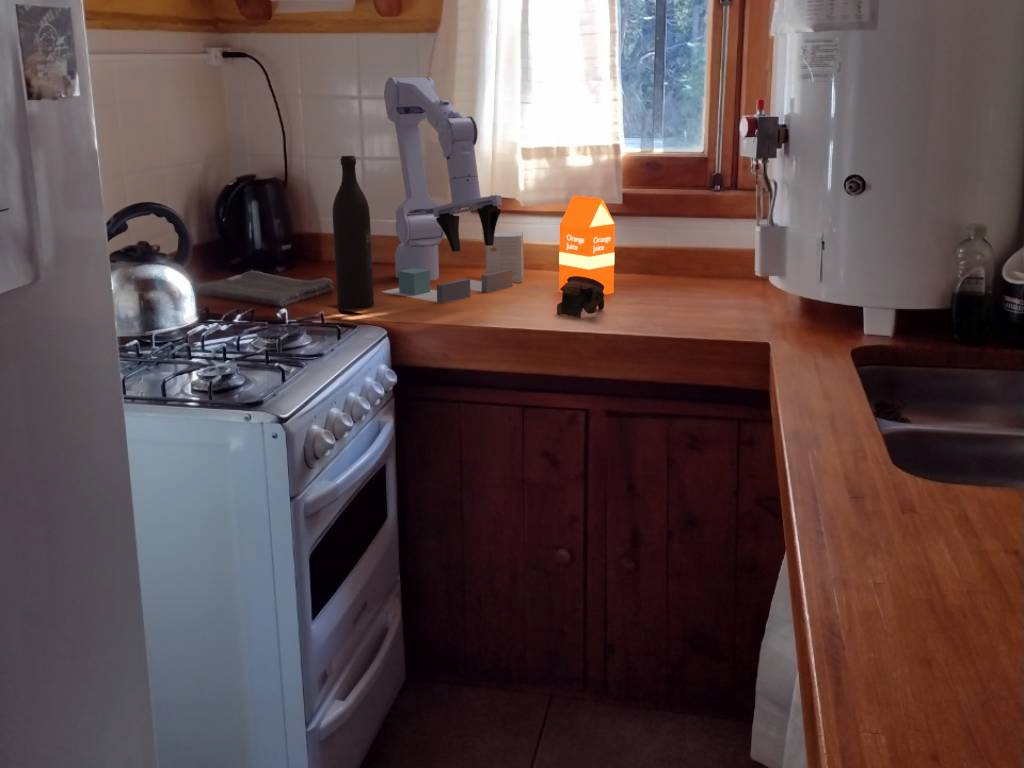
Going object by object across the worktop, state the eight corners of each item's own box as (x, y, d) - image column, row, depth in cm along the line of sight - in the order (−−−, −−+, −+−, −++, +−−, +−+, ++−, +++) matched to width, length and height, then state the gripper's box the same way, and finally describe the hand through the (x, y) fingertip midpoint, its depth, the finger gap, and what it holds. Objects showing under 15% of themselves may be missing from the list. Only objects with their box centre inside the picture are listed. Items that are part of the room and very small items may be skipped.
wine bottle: (375, 314, 206) (367, 157, 197) (338, 316, 205) (329, 158, 196) (373, 307, 212) (366, 154, 204) (337, 308, 211) (329, 155, 203)
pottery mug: (544, 314, 207) (555, 275, 208) (582, 331, 211) (593, 292, 212) (578, 310, 196) (589, 268, 198) (617, 327, 201) (628, 287, 202)
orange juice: (588, 298, 219) (589, 200, 213) (558, 291, 225) (558, 196, 219) (614, 292, 224) (616, 197, 218) (584, 286, 230) (585, 193, 224)
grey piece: (381, 296, 221) (380, 275, 219) (409, 290, 227) (408, 269, 225) (442, 308, 209) (442, 285, 208) (470, 301, 215) (470, 279, 214)
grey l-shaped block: (438, 288, 228) (438, 268, 226) (464, 283, 233) (464, 262, 232) (487, 297, 219) (486, 275, 217) (512, 291, 225) (512, 270, 223)
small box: (524, 278, 240) (523, 231, 237) (521, 283, 234) (521, 235, 231) (488, 278, 240) (488, 231, 237) (485, 283, 235) (485, 235, 232)
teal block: (399, 292, 219) (398, 271, 218) (415, 289, 223) (414, 267, 221) (414, 295, 217) (413, 273, 215) (430, 291, 220) (429, 270, 218)
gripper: (421, 184, 208) (430, 253, 209) (485, 171, 201) (494, 242, 202) (440, 186, 214) (449, 253, 215) (503, 173, 207) (512, 242, 208)
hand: (472, 248), depth 209 cm, fingers open, 7 cm apart
